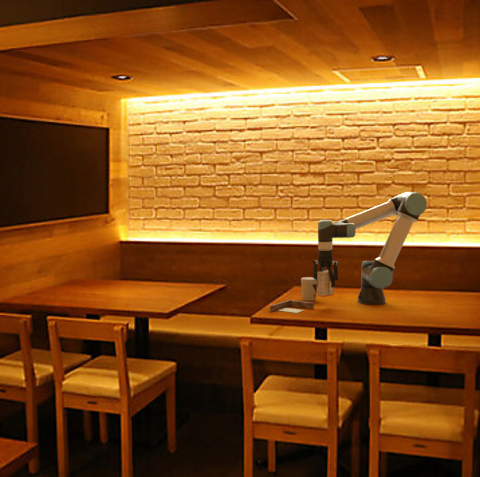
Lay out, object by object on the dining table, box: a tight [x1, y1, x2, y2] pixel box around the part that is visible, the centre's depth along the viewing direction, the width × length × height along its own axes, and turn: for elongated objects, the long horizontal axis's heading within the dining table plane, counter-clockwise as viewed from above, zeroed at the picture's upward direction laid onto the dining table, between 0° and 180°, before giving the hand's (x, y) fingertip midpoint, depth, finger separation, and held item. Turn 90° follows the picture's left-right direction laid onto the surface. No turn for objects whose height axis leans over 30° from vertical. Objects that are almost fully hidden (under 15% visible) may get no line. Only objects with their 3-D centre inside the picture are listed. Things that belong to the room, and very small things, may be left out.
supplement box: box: [317, 269, 335, 298], centre depth 361 cm, size 8×5×13 cm, turn 130°
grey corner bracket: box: [269, 299, 315, 313], centre depth 353 cm, size 14×20×3 cm
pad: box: [277, 307, 305, 314], centre depth 352 cm, size 11×8×1 cm
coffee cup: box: [300, 276, 318, 302], centre depth 383 cm, size 9×9×12 cm
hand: (325, 292), depth 361 cm, fingers closed on supplement box, 6 cm apart
